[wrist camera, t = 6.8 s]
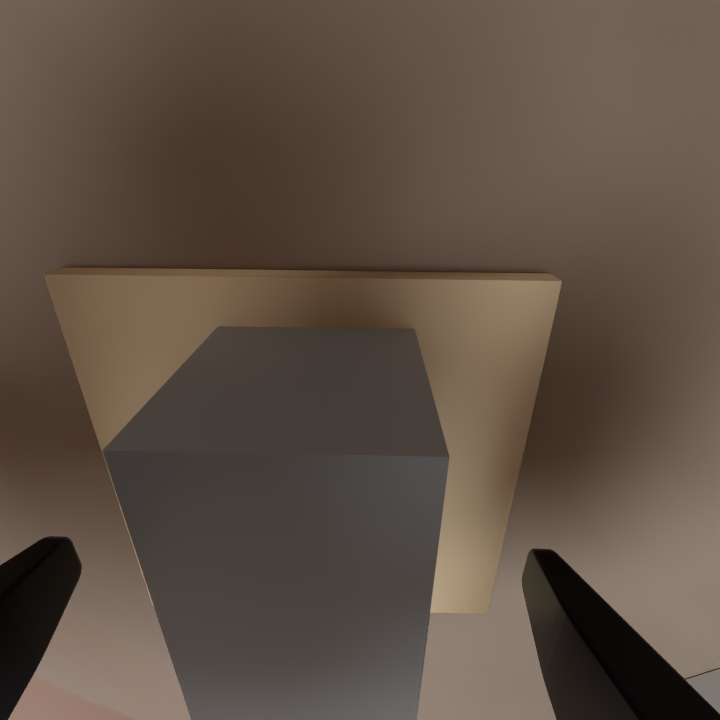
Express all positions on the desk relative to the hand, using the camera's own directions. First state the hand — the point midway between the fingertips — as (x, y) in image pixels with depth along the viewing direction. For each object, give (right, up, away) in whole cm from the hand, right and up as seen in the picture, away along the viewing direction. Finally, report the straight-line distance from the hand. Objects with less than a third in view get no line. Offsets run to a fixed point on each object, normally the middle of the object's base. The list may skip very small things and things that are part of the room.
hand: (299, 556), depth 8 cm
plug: (-2, -1, 0) cm, 2 cm away
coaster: (0, +1, +2) cm, 3 cm away
